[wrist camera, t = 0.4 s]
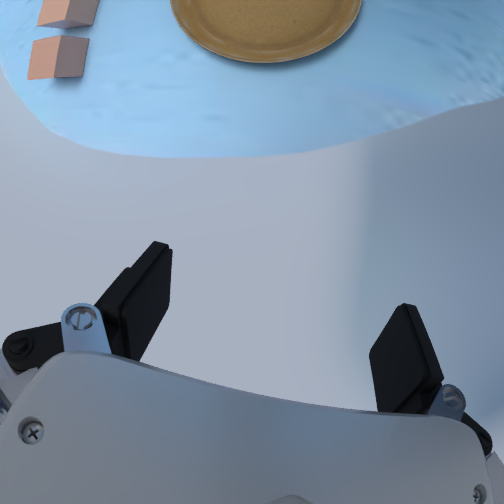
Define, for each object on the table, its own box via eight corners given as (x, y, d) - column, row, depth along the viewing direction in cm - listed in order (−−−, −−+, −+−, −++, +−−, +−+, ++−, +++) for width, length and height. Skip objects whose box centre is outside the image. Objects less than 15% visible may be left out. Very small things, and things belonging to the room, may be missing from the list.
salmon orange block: (61, 42, 32) (33, 40, 26) (89, 38, 32) (61, 35, 25) (55, 77, 35) (27, 80, 29) (82, 76, 35) (53, 77, 29)
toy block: (73, -4, 27) (46, -10, 21) (102, -10, 27) (76, -19, 21) (64, 29, 30) (36, 26, 24) (92, 24, 30) (64, 19, 24)
